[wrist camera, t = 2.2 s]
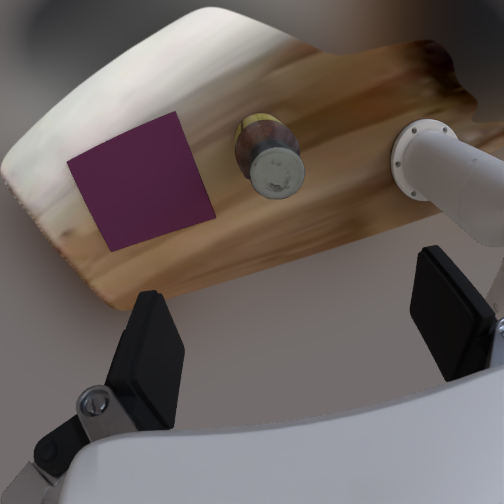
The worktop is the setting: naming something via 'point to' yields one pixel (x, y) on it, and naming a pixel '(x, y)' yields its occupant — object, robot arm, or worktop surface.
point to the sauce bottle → (269, 156)
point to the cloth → (142, 184)
